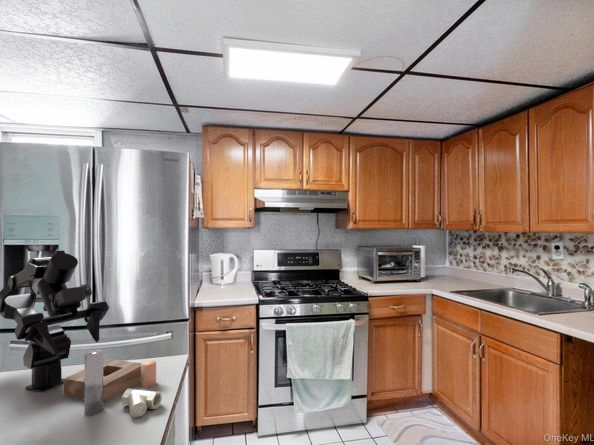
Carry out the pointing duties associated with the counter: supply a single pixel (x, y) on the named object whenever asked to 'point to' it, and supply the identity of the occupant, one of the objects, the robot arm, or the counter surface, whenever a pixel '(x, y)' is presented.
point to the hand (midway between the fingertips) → (77, 346)
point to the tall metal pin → (93, 382)
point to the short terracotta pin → (148, 374)
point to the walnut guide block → (106, 379)
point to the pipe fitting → (141, 401)
